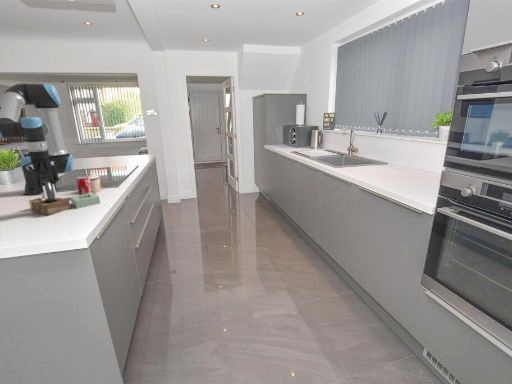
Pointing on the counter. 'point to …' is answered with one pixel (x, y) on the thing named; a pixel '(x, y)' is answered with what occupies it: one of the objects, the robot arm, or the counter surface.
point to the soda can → (84, 185)
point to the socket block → (51, 206)
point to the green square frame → (85, 200)
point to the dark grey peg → (49, 192)
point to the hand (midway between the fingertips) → (49, 197)
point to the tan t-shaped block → (34, 201)
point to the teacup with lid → (95, 182)
